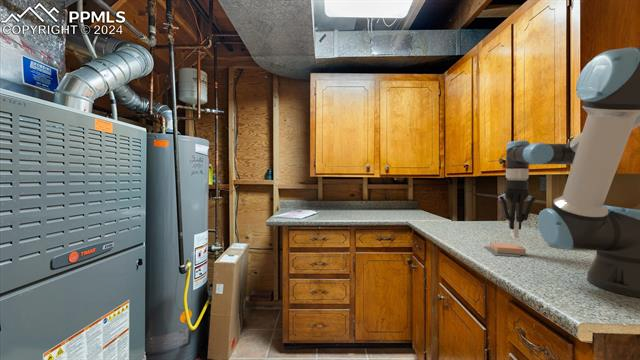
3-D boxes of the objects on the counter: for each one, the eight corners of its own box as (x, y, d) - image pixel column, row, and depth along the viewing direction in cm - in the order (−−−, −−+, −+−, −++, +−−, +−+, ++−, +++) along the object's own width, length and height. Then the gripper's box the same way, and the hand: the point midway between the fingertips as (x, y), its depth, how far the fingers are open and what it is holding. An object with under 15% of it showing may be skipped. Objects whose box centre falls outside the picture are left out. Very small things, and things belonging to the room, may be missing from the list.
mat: (521, 257, 106) (521, 256, 105) (495, 255, 107) (495, 254, 107) (507, 248, 117) (507, 247, 117) (483, 247, 119) (483, 246, 119)
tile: (525, 249, 107) (497, 247, 109) (525, 255, 107) (497, 253, 109) (516, 243, 115) (489, 242, 117) (515, 249, 115) (489, 247, 117)
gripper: (530, 179, 112) (528, 236, 113) (495, 178, 115) (493, 234, 116) (540, 180, 105) (538, 240, 106) (502, 179, 108) (500, 238, 109)
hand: (514, 237), depth 111 cm, fingers closed
